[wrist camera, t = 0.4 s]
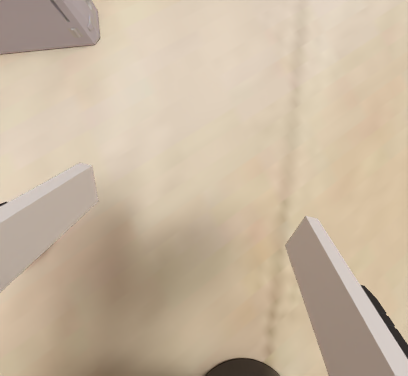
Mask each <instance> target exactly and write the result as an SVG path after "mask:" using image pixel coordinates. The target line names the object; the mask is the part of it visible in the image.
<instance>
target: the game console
mask: <svg viewBox="0 0 408 376" xmlns="http://www.w3.org/2000/svg"><path fill="white" fill-rule="evenodd" d="M99 38H100V32H99V21H98V11H97V9H96V7H95V5H94V3H93V2H92V0H0V54H6V53H16V52H26V51H36V50H46V49H55V48H65V47H75V46H85V45H95V44H96V42H97V41H98V40H99Z"/></svg>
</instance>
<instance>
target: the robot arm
mask: <svg viewBox="0 0 408 376" xmlns="http://www.w3.org/2000/svg"><path fill="white" fill-rule="evenodd" d="M97 202H98V195H97V189H96V184H95V178H94V172H93V167H92V165H88V164H84V163H78V164H76V165H75V166H73V167H71V168H69V169H67V170H66V171H64V172H62V173H60V174H58V175H57V176H55V177H53V178H51V179H49V180H47V181H46V182H44V183H42V184H40V185H38V186H37V187H35V188H33V189H31V190H29V191H28V192H26V193H24V194H22V195H20V196H19V197H17V198H15V199H13V200H11V201H9V202H5V203H2V204H0V292H1V291H3V290H4V289H5V288H6V287H7V286H8V285H9V284H10V283H11V282H12V281H13V280H14V279H15V278H17V277H18V276H19V275H20V274H21V273H22V272H23V271H24V270H25V269H26V268H27V267H28V266H29V265H31V264H32V263H33V262H34V261H35V260H36V259H37V258H38V257H39V256H40V255H41V254H42V253H43V252H45V251H46V250H47V249H48V248H49V247H50V246H51V245H52V244H53V243H54V242H55V241H56V240H57V239H59V238H60V237H61V236H62V235H63V234H64V233H65V232H66V231H67V230H68V229H69V228H70V227H71V226H73V225H74V224H75V223H76V222H77V221H78V220H79V219H80V218H81V217H82V216H83V215H84V214H85V213H87V212H88V211H89V210H90V209H91V208H92V207H93V206H94V205H95V204H96V203H97ZM285 247H286V250H287V253H288V256H289V259H290V262H291V265H292V268H293V271H294V274H295V277H296V280H297V282H298V285H299V288H300V291H301V294H302V297H303V300H304V303H305V306H306V309H307V312H308V315H309V318H310V321H311V324H312V327H313V330H314V333H315V336H316V339H317V342H318V345H319V348H320V351H321V354H322V357H323V360H324V363H325V366H326V368H327V371H328V374H329V376H408V345H407V343H406V342H405V340H404V339H403V337H402V336H401V334H400V333H399V331H398V330H397V329H395V327H394V326H395V325H394V324H393V322H392V321H391V319H390V318H389V316H387V315H386V312H385V310H384V309H383V307H382V306H381V304H380V303H379V302H378V300H377V299H376V298H375V297H374V296H373V294H372V293H371V292H370V291H369V290H368V289H367V288H366V287H365V286H363V285H360V284H359V282H358V281H357V279H356V278H355V276H354V274H353V273H352V271H351V270H350V268H349V267H348V265H347V263H346V262H345V260H344V259H343V257H342V256H341V254H340V253H339V251H338V249H337V248H336V246H335V245H334V243H333V242H332V240H331V238H330V237H329V235H328V234H327V232H326V231H325V229H324V227H323V226H322V224H321V223H320V221H319V220H318V219H316V218H312V217H308V216H305V217H304V219H303V220H302V222H301V223H300V225H299V226H298V227H297V229H296V230H295V232H294V233H293V235H292V236H291V237H290V239H289V240H288V242H287V243H286V245H285ZM206 376H280V375H279V374H278V373H277V372H276V371H274V370H273V369H272V368H270V367H269V366H267V365H265V364H263V363H261V362H258V361H255V360H249V359H236V360H231V361H228V362H225V363H223V364H220V365H219V366H217V367H215V368H214V369H213V370H211V371H210V372H209V373H208V374H207V375H206Z"/></svg>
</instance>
